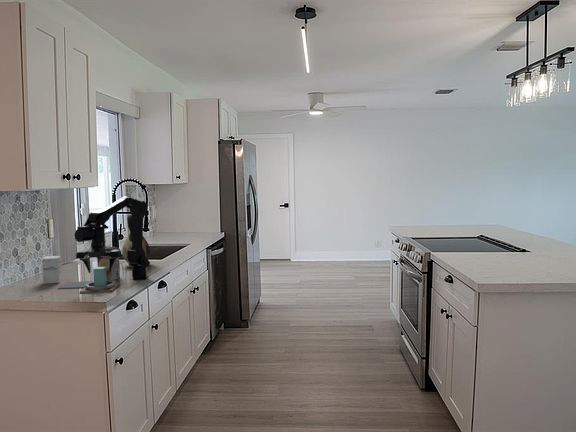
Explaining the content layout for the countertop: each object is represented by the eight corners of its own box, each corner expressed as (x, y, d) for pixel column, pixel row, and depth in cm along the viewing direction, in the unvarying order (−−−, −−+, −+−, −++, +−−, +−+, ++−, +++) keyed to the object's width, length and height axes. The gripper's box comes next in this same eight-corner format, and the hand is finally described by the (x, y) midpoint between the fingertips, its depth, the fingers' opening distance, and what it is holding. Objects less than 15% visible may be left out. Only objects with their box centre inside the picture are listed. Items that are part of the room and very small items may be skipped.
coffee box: (97, 279, 233) (95, 248, 231) (105, 276, 239) (104, 246, 237) (112, 280, 230) (111, 248, 229) (120, 277, 236) (119, 246, 235)
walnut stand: (119, 284, 221) (119, 282, 221) (112, 292, 207) (112, 290, 207) (89, 285, 219) (89, 283, 219) (79, 293, 205) (79, 291, 205)
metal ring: (117, 285, 220) (117, 280, 220) (110, 291, 208) (110, 286, 207) (91, 286, 218) (90, 281, 218) (82, 292, 206) (82, 287, 206)
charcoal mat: (92, 282, 227) (92, 281, 227) (84, 288, 215) (84, 287, 215) (67, 282, 226) (67, 281, 226) (57, 288, 214) (57, 287, 214)
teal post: (106, 287, 216) (106, 266, 215) (104, 290, 211) (103, 268, 210) (97, 288, 215) (96, 267, 214) (94, 290, 211) (93, 269, 210)
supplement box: (42, 284, 223) (41, 258, 222) (46, 281, 230) (44, 256, 229) (59, 283, 225) (57, 257, 224) (62, 279, 232) (60, 255, 231)
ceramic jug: (129, 263, 275) (127, 213, 272) (154, 263, 274) (152, 213, 271) (116, 268, 258) (114, 216, 256) (143, 269, 257) (141, 216, 254)
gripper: (70, 242, 202) (72, 277, 203) (114, 241, 204) (116, 275, 205) (79, 238, 213) (81, 271, 214) (121, 237, 215) (122, 270, 217)
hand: (100, 272), depth 212 cm, fingers open, 9 cm apart
